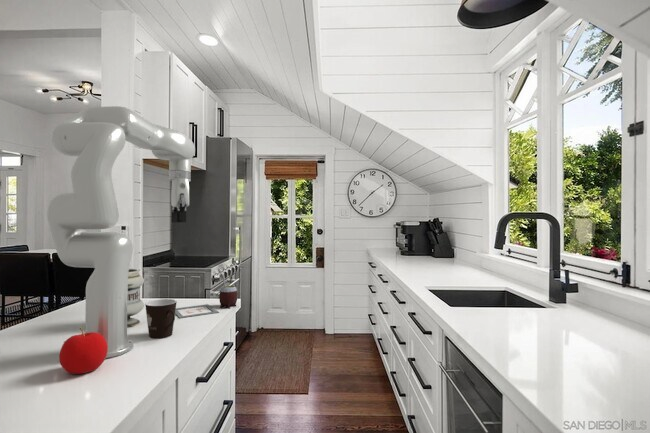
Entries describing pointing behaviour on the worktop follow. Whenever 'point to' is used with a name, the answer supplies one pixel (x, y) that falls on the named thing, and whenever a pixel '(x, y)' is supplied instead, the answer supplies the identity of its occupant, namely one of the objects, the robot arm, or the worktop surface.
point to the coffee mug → (160, 317)
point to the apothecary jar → (134, 296)
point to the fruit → (83, 352)
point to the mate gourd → (227, 295)
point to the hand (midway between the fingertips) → (178, 222)
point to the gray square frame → (180, 316)
